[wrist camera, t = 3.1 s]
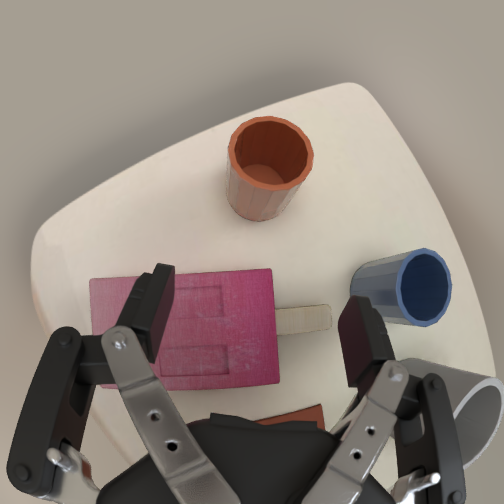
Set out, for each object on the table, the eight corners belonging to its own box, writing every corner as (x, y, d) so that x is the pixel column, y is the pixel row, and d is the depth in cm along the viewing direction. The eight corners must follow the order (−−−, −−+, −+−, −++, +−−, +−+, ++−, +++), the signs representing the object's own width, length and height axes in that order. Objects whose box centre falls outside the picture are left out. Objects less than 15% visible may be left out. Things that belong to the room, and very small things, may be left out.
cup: (441, 362, 28) (514, 378, 16) (417, 430, 26) (480, 466, 14) (385, 353, 27) (463, 375, 15) (359, 430, 26) (419, 481, 14)
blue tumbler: (355, 327, 27) (403, 336, 19) (344, 267, 28) (389, 256, 20) (403, 311, 28) (455, 313, 20) (393, 256, 29) (444, 242, 20)
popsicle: (317, 268, 28) (109, 281, 25) (336, 262, 23) (88, 278, 21) (324, 362, 26) (118, 375, 24) (343, 373, 22) (100, 389, 19)
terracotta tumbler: (232, 226, 27) (237, 196, 19) (221, 167, 28) (222, 120, 20) (294, 215, 28) (323, 184, 20) (280, 159, 29) (301, 113, 21)
